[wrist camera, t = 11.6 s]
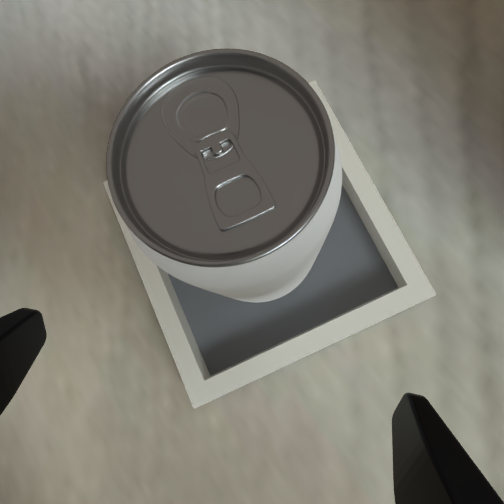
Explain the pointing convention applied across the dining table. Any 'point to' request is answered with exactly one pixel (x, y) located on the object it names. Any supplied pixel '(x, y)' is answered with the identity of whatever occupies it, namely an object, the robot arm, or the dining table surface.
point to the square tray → (290, 294)
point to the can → (227, 173)
